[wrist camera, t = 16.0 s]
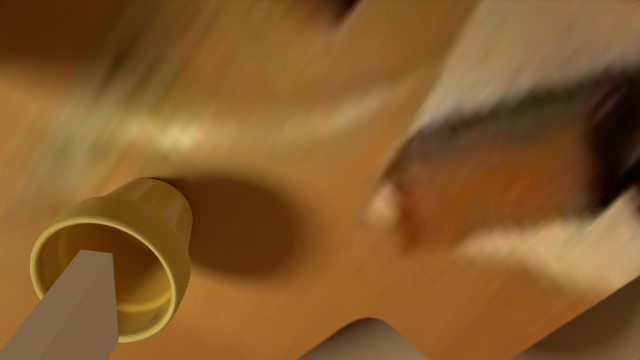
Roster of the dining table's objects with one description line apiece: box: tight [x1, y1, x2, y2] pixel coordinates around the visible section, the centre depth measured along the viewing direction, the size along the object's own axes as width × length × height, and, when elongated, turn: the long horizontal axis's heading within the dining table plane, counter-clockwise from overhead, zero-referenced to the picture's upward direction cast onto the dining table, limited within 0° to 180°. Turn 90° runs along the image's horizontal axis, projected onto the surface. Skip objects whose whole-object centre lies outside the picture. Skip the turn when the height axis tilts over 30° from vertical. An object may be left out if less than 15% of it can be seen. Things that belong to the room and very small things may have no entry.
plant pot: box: [30, 178, 193, 343], centre depth 42 cm, size 10×10×10 cm
